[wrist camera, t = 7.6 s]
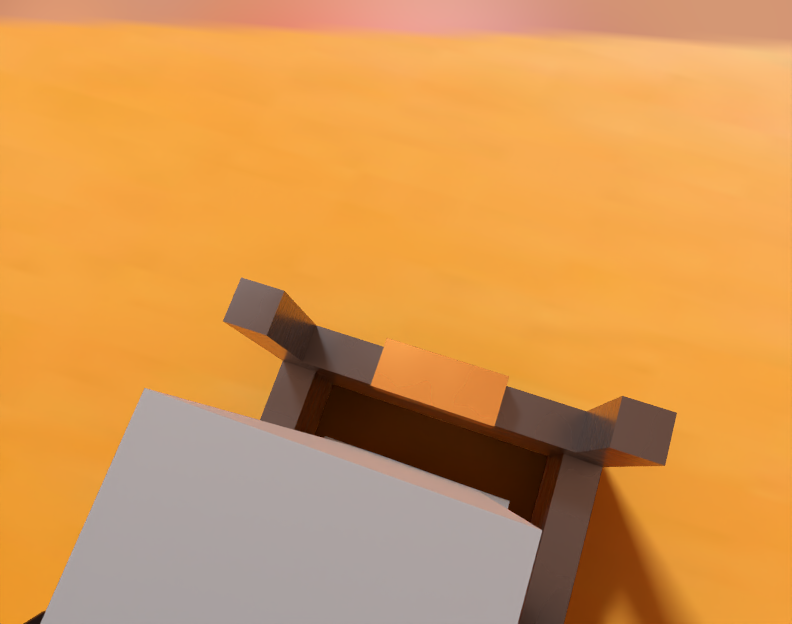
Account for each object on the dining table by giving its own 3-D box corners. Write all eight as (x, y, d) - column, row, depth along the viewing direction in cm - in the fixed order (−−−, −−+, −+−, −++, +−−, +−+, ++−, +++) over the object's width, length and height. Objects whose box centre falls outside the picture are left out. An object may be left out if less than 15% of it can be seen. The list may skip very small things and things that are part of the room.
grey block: (449, 699, 14) (450, 1647, 3) (265, 623, 15) (-318, 1104, 4) (506, 499, 15) (673, 577, 4) (332, 438, 16) (49, 353, 5)
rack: (506, 760, 15) (549, 984, 9) (207, 632, 17) (47, 739, 10) (590, 431, 18) (677, 407, 11) (316, 343, 19) (243, 273, 12)
